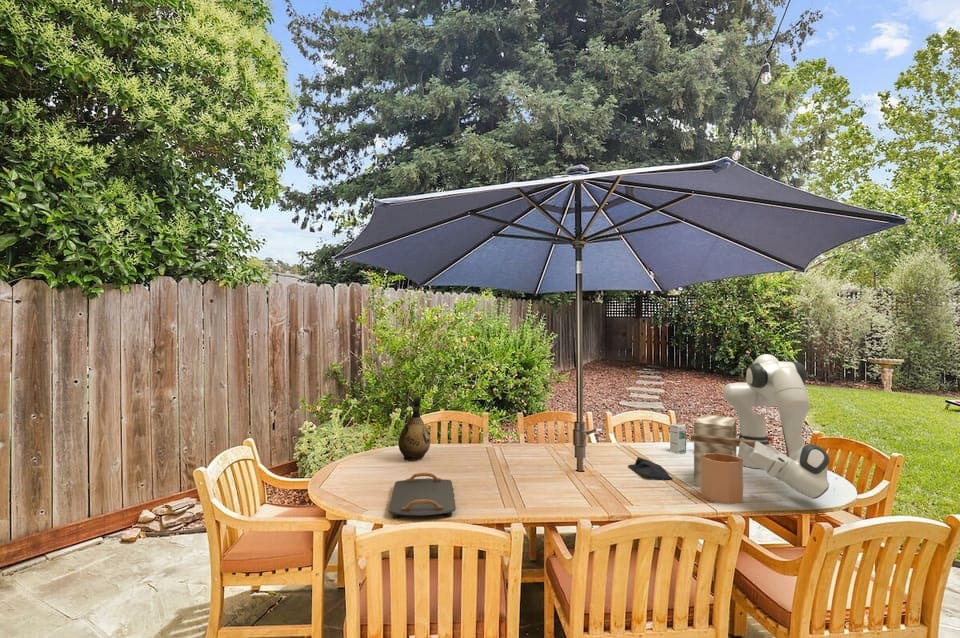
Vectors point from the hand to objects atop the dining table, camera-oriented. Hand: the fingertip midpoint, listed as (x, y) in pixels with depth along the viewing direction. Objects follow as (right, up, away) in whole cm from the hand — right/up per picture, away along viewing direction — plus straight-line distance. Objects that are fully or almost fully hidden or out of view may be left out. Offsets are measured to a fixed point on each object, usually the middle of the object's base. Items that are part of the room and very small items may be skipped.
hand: (740, 441), depth 187 cm
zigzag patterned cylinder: (+1, -23, +22) cm, 32 cm away
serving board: (-120, -22, -4) cm, 122 cm away
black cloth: (-22, -23, +34) cm, 47 cm away
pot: (-5, -22, +3) cm, 23 cm away
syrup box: (+5, -24, +71) cm, 75 cm away
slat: (-5, -2, +3) cm, 6 cm away
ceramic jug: (-131, -22, +54) cm, 143 cm away
